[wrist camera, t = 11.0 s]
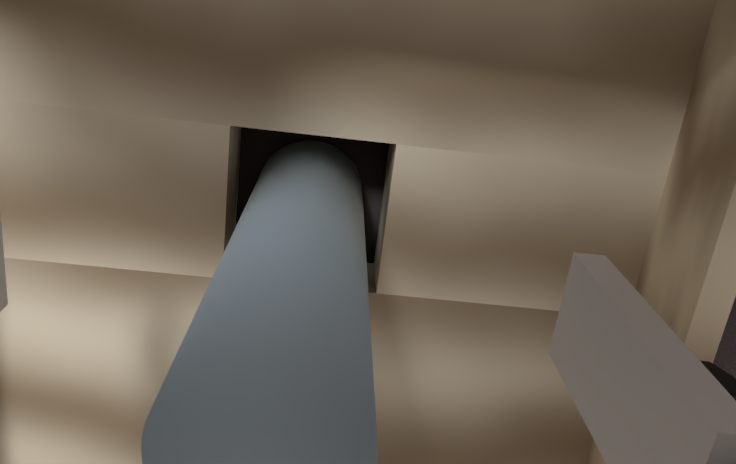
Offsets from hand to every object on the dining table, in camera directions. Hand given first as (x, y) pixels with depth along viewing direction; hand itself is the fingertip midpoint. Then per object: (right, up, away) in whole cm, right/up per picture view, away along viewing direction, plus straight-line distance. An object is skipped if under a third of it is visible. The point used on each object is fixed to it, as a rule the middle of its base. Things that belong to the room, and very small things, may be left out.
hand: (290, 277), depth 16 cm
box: (-1, 0, +9) cm, 9 cm away
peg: (0, +3, +8) cm, 8 cm away
